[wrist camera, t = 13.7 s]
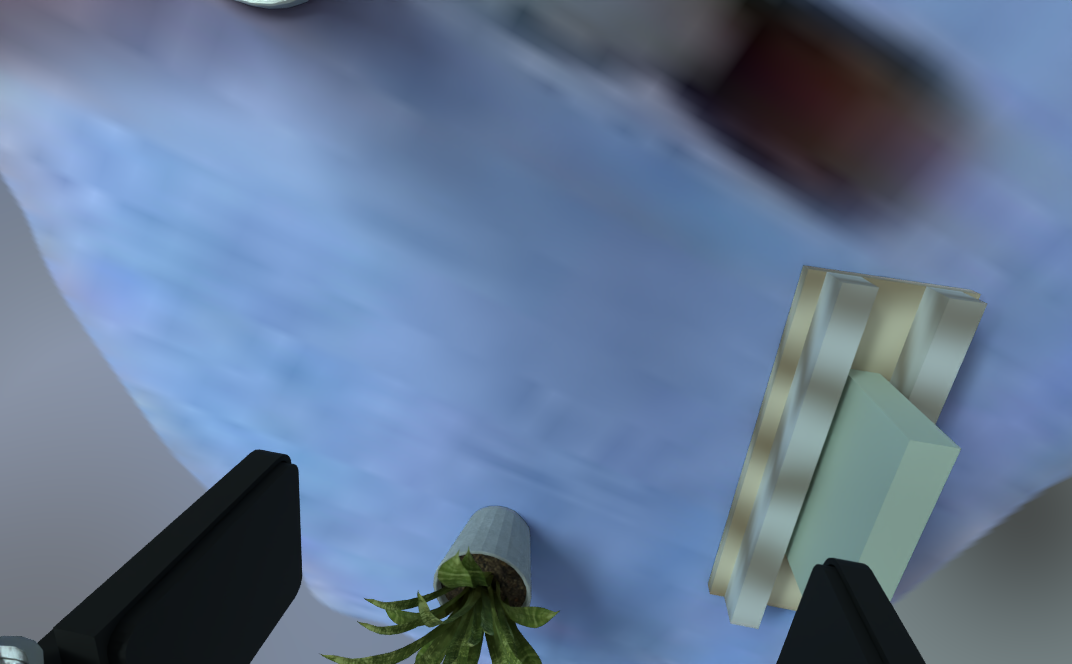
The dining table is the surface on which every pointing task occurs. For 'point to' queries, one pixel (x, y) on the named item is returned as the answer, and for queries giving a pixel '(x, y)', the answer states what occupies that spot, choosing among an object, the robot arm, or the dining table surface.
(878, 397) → the door panel
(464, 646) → the house plant
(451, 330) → the dining table surface
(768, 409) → the door track
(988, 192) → the dining table surface
